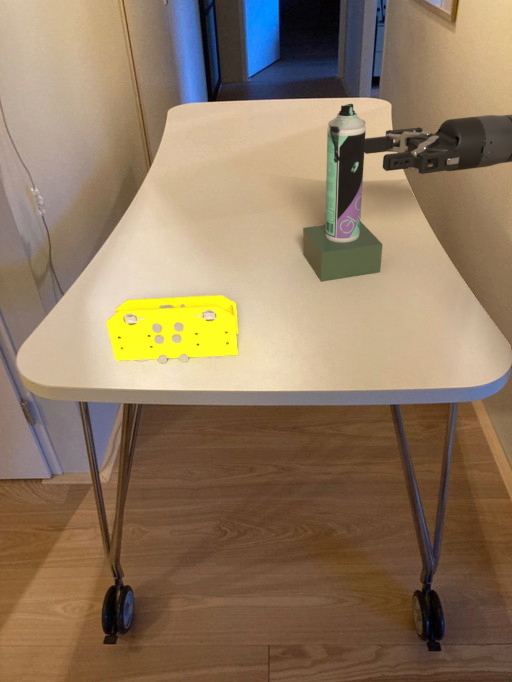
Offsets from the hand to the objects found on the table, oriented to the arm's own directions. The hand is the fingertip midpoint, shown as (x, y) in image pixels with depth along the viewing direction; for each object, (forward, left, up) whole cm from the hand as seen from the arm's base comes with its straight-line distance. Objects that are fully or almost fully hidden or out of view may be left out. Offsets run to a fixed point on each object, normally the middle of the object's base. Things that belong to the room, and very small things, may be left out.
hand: (373, 154), depth 82 cm
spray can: (+3, +3, -13) cm, 14 cm away
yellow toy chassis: (+13, +35, -18) cm, 42 cm away
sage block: (+3, +3, -18) cm, 18 cm away
